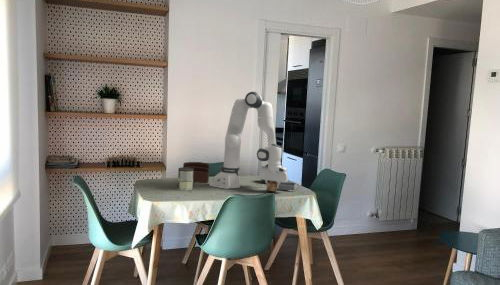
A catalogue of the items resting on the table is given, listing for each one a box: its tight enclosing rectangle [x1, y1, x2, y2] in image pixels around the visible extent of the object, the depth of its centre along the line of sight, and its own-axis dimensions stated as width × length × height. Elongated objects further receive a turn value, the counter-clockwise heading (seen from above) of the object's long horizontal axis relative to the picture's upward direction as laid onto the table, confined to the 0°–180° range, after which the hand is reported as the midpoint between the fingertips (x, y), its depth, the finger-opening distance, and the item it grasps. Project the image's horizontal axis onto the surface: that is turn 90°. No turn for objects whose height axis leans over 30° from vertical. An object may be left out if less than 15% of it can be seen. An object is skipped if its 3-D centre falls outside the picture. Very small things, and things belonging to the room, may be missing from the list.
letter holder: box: [182, 161, 210, 184], centre depth 307 cm, size 10×20×14 cm, turn 92°
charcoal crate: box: [278, 181, 298, 191], centre depth 297 cm, size 15×13×4 cm
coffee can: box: [177, 166, 194, 191], centre depth 279 cm, size 10×10×14 cm
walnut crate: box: [266, 181, 278, 192], centre depth 286 cm, size 6×9×5 cm, turn 162°
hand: (272, 187), depth 286 cm, fingers closed on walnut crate, 5 cm apart
